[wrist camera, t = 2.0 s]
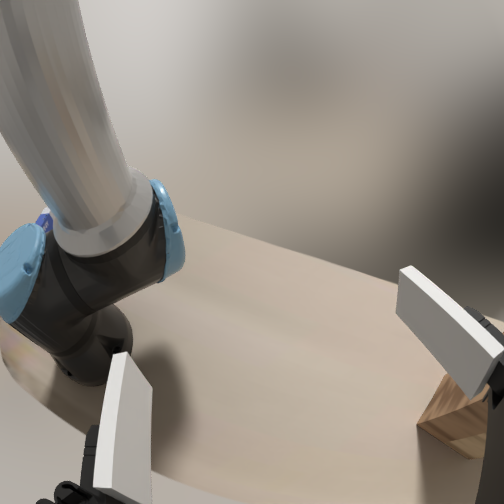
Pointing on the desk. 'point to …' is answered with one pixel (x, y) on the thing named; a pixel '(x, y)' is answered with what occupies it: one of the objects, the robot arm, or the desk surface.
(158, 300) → the desk surface
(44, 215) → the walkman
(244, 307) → the desk surface
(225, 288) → the desk surface
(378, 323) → the desk surface
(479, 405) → the hinge block
